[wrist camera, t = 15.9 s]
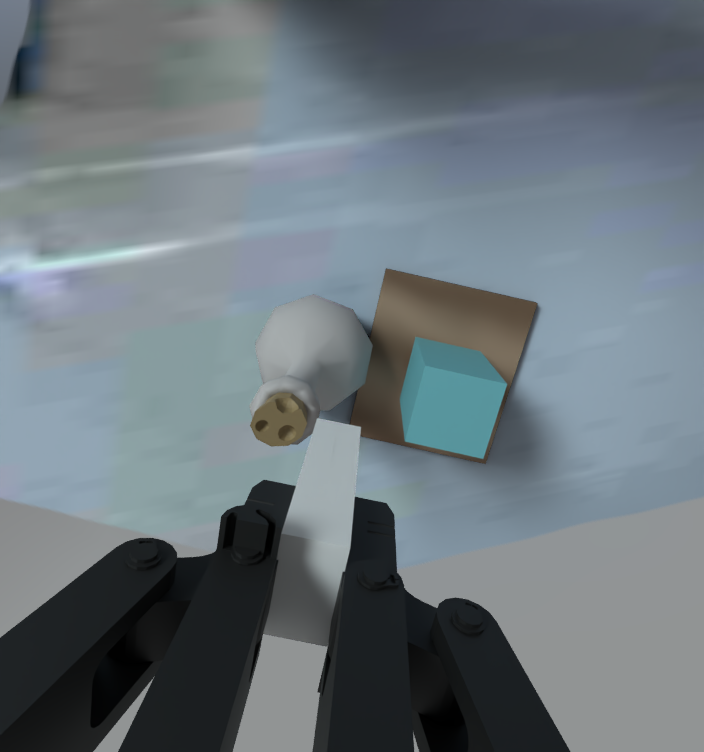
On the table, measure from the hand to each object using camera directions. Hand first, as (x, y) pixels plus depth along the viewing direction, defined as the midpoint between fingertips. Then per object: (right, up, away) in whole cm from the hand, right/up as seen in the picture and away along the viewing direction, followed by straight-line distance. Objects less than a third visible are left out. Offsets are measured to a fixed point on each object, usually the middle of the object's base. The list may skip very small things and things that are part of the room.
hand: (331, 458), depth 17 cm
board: (+8, +3, +25) cm, 26 cm away
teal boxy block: (+8, +3, +23) cm, 25 cm away
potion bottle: (-2, +5, +25) cm, 26 cm away
